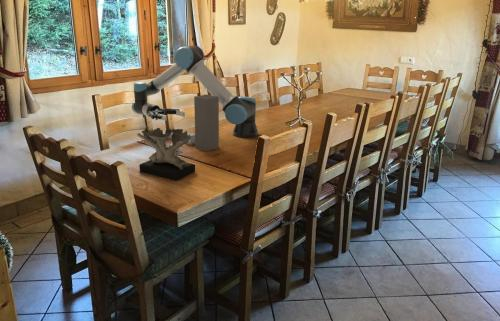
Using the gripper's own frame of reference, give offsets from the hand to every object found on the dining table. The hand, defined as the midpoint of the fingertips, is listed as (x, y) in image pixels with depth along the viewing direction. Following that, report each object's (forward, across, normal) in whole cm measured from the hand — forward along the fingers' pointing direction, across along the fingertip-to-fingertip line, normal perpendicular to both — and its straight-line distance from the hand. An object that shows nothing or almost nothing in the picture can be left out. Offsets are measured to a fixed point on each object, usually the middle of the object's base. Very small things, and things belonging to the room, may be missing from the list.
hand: (175, 116), depth 234 cm
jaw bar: (+3, 0, -13) cm, 14 cm away
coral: (+39, +41, -14) cm, 59 cm away
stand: (+25, 0, -13) cm, 28 cm away
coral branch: (+25, +24, -14) cm, 37 cm away
